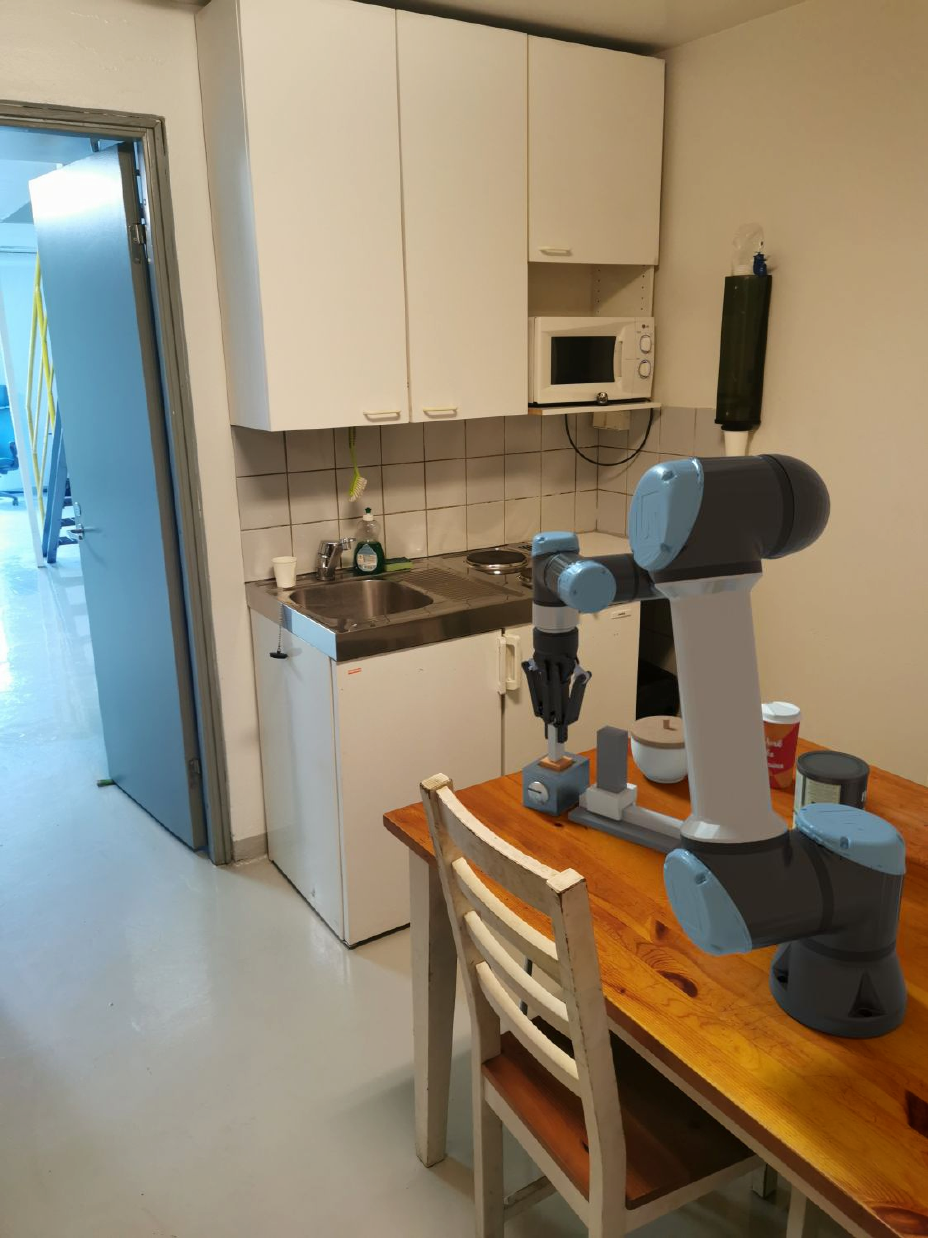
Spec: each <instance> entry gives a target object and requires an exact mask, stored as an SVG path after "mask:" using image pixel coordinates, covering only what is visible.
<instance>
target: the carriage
mask: <svg viewBox="0 0 928 1238" xmlns="http://www.w3.org/2000/svg"><path fill="white" fill-rule="evenodd" d="M628 747H629V731H628V730H625V729H622V728H618V727H614V726H610V725H605V726H603V727H602V728H600V729H598V730H597V731H596V781H595V783H594V784H591V786H590V785H589V788H587V789H586V803H587V810H589V811H592V812H595V813H598V814H601V815H604V816H606V817H609V818H612V819H615V820H618V821H619V820H620V819H621V818H622V809H624V808H625V807H627V806H628V805H629V804H630V805H633V806H637V805H636V804H637V800H638V785H636V784H633V783H629V782H628V765H629V764H628V759H629V758H628V755H629V754H628V753H629V752H628V751H629V748H628Z"/></svg>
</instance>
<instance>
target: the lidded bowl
mask: <svg viewBox="0 0 928 1238" xmlns="http://www.w3.org/2000/svg"><path fill="white" fill-rule="evenodd" d="M629 729H630V732H629V733H630V744H631V745H630V747H631V753H632V757H633V761H634V763H635V765H636V767H637V768H638V769H639V771H641V772H642V774H644V776H645V778H647V779H648V780H649V781H652V782H655V783H657V784H675V783H678V782H681V781H682V780H683V781H684V780H685V777H686V776H688V770H687V760H686V751H685V741H684V731H683V721H682V717H677V716H673V715H671V716H670V715H655V716H654V715H653V716H645V717H642V718H639V719H637V720H636V721H634V722H633V723H632V724H631V726H630V728H629Z"/></svg>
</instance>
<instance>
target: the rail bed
mask: <svg viewBox="0 0 928 1238" xmlns="http://www.w3.org/2000/svg"><path fill="white" fill-rule="evenodd" d="M578 803H579V804H578V806H577V807H575V808H574V809H572V810H571V811H569V812H568V814H567V817H568V818H567V819H568V820H569V821H572V822H574V823H577V824H580V825H583V826H585V827H589V828H592V829H594V830H597V831H600V832H602V833H605V834H609V835H611V836H614V837H617V838H620V839H622V840H625V841H629V842H631V843H635V844H638V845H640V846H643V847H646V848H649V849H652V850H654V851H657V852H660V853H662V854H666V855H668V854H669V853H671V852H673V851H674V850H675V849H681V837H680V826H681V825H682V824H683V822H684V821H685V820H683V819H680V818H676V817H674V816H670V815H667V814H663V813H661V812H658V811H655V810H652V809H649V808H645V807H642V806H639V805H636V806H633V805H630V804H629V805H628V806H627V807H625V808H624V809H622V818H621V819H620V820H619V821H618V820H615V819H612V818H609V817H606V816H604V815H601V814H598V813H595V812H592V811H589V810H587V803H586V792H584V793H583V794H581V795H580V796H579V802H578Z"/></svg>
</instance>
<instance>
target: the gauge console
mask: <svg viewBox="0 0 928 1238" xmlns="http://www.w3.org/2000/svg"><path fill="white" fill-rule="evenodd" d="M547 756H548V753H546V754H544V755H543V756H541V757H540V758H537V759H536V760H534V761H532V762H530V763H529V764H526V766H525V765H524V766H523V767H522V806H524V807H527V808H530V809H532V810H534V811H535V810H536V811H537V812H538V811H539V812H541V813H544V814H546V815H550V816H552V817H555V818H557V817H559V816H561V815H562V814H564V813H565V812H567V811H568V810H569V809H571V808H572V807H574V806H576V805H577V804H578V803H579V796H580V795H581V794H583V793H584V792H586V789H587V788H589V787H590V770H591V769H590V768H591V767H590V765H591V763H590V761H591V760H590V759H591V758H589V757H586V756H584V755H583V756H582V755H579V754H577V753H576V754H575V753H573V752H568V751H565V750H564V756H566V757H569V758H573V765H571V766H569V767H568V768H566V769H564V770H563V771H561V772H558V771H555V770H552V769H548V768H545V767H542V766H540V760H542V759H544V758H545V757H547Z"/></svg>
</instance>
